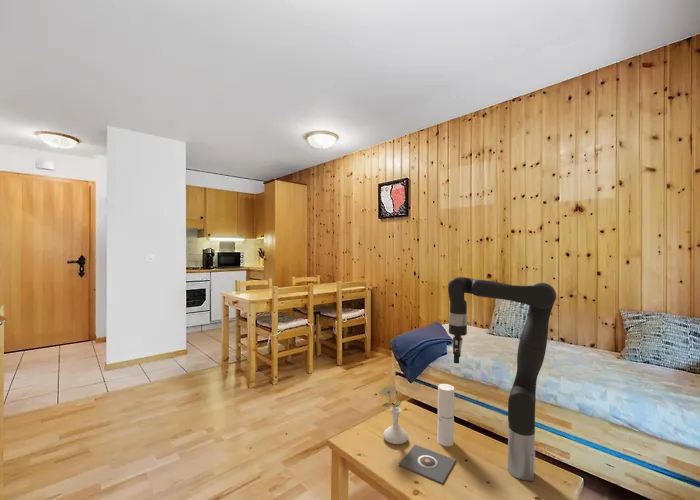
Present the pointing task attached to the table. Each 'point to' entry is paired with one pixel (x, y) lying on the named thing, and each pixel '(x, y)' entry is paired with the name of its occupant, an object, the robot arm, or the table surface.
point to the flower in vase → (395, 431)
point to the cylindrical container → (445, 415)
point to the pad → (428, 463)
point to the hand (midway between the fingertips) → (457, 359)
